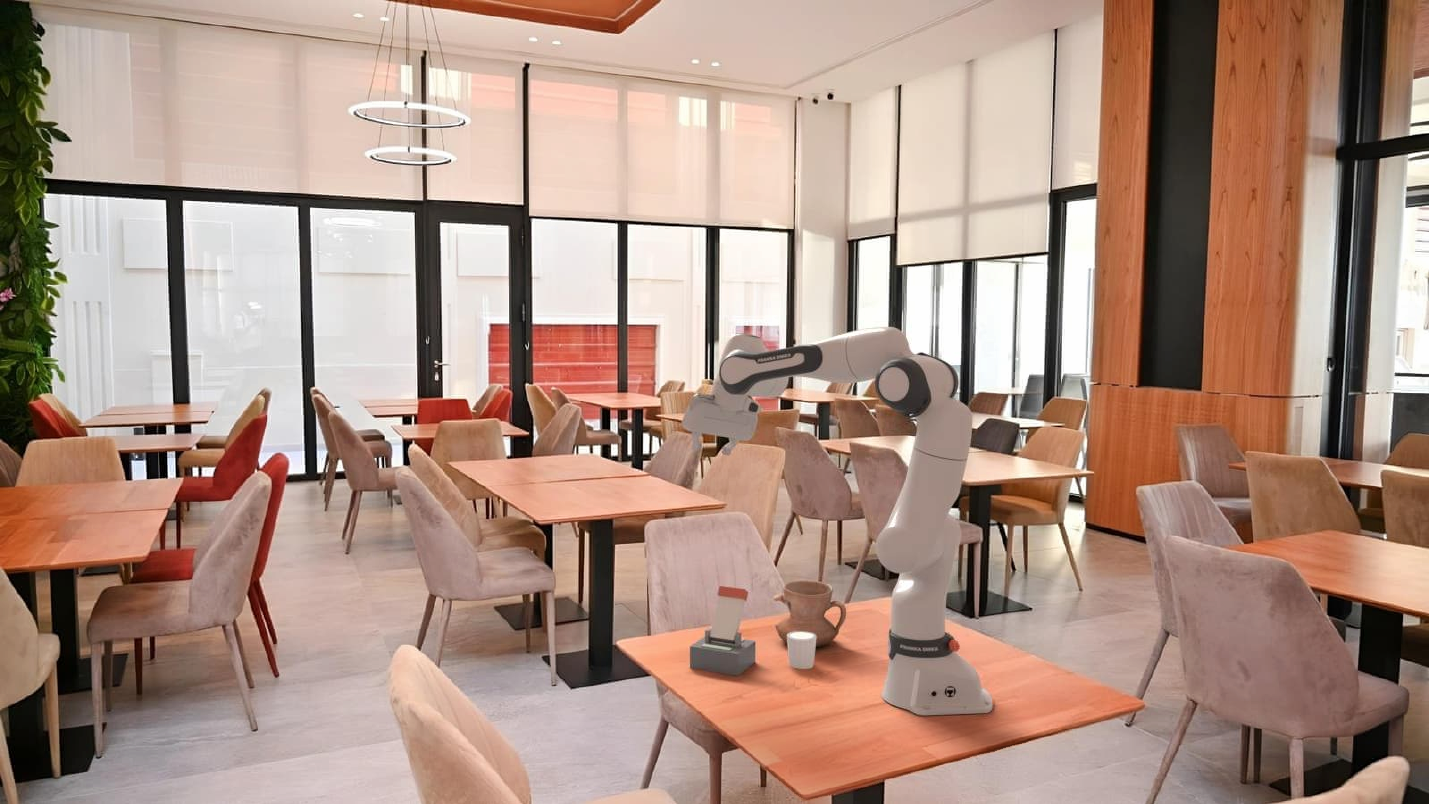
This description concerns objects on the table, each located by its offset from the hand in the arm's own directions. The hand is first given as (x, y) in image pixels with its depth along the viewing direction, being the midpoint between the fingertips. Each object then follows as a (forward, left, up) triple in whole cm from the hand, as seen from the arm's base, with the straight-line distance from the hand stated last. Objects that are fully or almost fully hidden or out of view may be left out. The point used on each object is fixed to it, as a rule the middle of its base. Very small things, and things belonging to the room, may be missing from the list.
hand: (710, 452), depth 232 cm
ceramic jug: (-24, -4, -48) cm, 54 cm away
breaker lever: (-4, +14, -41) cm, 44 cm away
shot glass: (-22, +12, -48) cm, 54 cm away
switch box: (-4, +14, -47) cm, 50 cm away
